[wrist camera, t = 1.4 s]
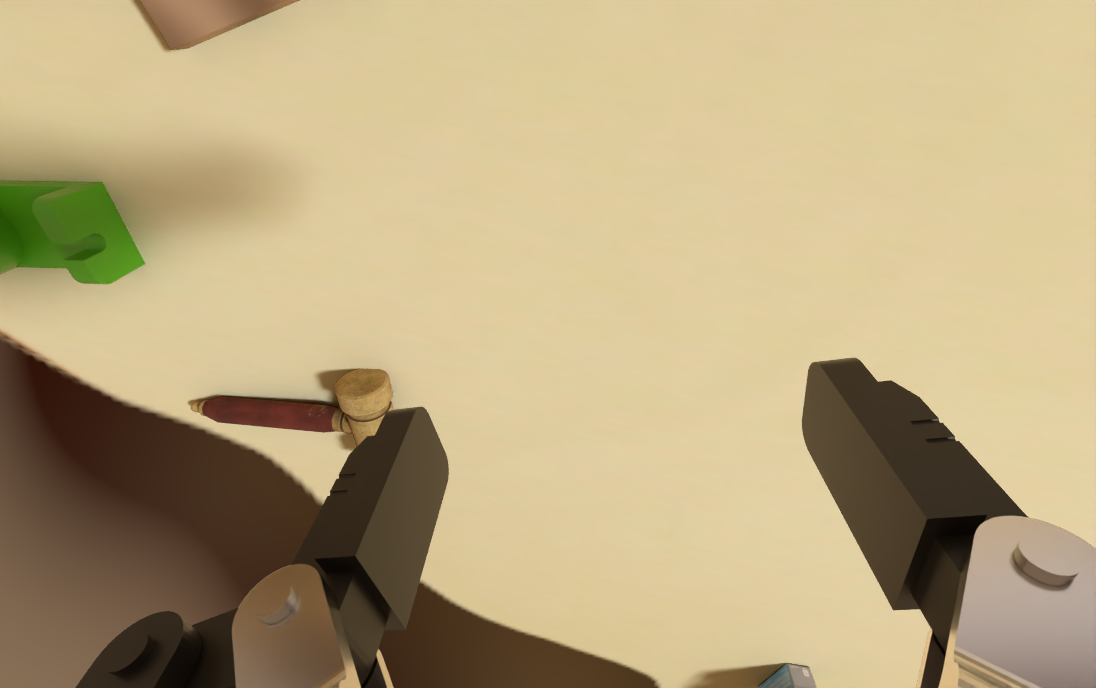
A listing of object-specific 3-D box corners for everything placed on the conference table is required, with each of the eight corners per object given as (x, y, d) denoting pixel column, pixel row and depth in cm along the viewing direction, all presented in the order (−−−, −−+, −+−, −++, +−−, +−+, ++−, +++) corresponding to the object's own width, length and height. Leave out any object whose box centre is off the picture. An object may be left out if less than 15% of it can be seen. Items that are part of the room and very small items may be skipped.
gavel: (197, 459, 48) (149, 381, 43) (228, 427, 52) (188, 351, 46) (397, 480, 46) (375, 400, 40) (414, 445, 50) (396, 367, 44)
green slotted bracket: (-21, 261, 41) (-84, 287, 37) (-85, 174, 36) (-163, 193, 33) (149, 265, 40) (102, 292, 36) (103, 176, 36) (45, 197, 32)
